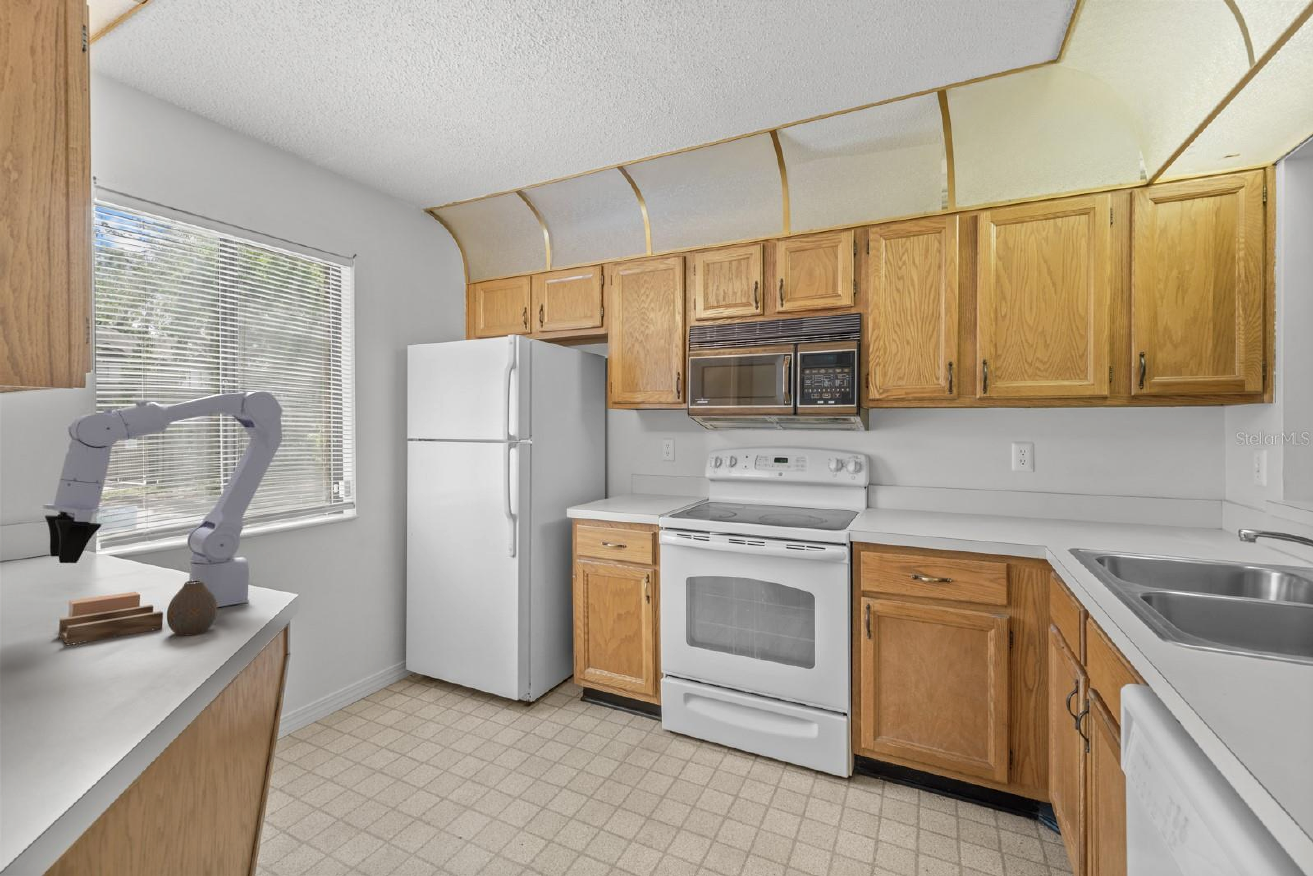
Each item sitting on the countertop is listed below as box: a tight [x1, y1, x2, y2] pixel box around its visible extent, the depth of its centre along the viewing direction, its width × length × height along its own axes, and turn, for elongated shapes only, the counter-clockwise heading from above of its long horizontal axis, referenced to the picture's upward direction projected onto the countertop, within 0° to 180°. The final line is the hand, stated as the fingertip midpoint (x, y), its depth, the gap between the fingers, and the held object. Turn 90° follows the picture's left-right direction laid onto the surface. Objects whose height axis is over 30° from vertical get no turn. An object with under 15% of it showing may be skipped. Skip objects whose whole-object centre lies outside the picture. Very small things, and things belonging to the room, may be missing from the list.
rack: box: [58, 604, 164, 645], centre depth 102 cm, size 12×7×3 cm, turn 143°
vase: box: [166, 580, 218, 636], centre depth 104 cm, size 7×7×9 cm
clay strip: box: [67, 591, 141, 618], centre depth 108 cm, size 9×3×4 cm, turn 143°
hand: (63, 559), depth 103 cm, fingers open, 7 cm apart
